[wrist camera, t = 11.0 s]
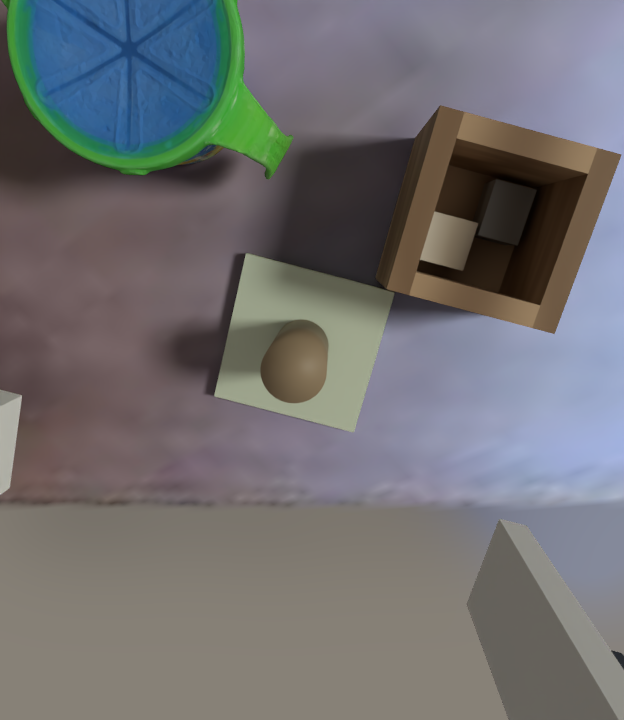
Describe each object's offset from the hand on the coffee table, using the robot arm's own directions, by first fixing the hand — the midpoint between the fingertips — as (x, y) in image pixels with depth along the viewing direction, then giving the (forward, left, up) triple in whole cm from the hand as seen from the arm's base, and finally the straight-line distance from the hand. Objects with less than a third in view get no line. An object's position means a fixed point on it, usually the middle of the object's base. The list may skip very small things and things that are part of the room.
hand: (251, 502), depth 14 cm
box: (+8, +10, -22) cm, 26 cm away
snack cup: (-11, +13, -23) cm, 28 cm away
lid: (0, 0, -23) cm, 23 cm away
